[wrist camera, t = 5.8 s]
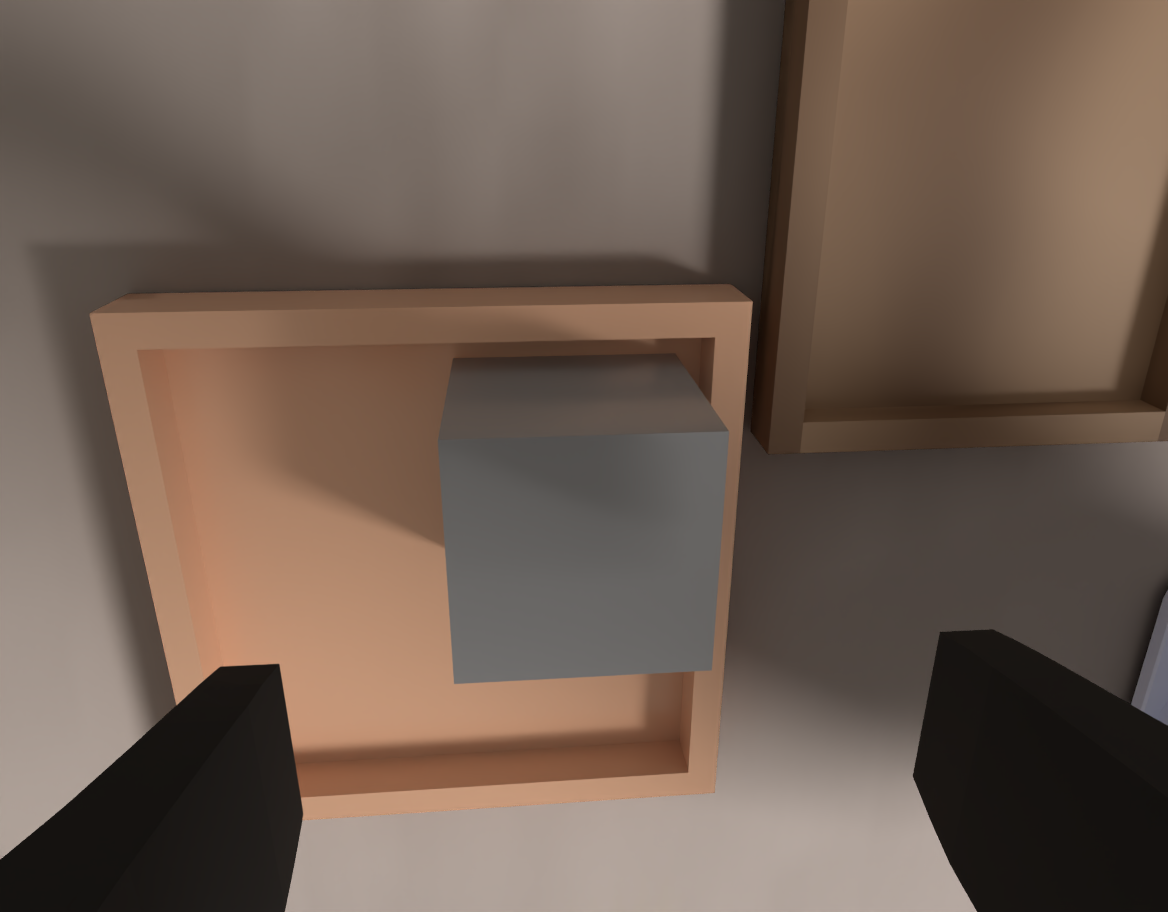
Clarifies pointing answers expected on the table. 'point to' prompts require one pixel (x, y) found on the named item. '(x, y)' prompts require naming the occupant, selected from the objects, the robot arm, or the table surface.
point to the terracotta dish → (389, 531)
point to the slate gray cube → (580, 516)
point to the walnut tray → (966, 227)
